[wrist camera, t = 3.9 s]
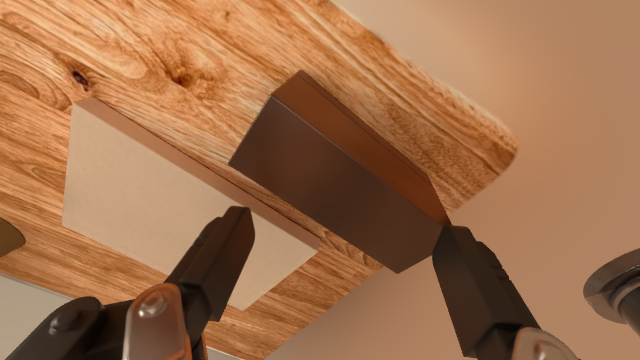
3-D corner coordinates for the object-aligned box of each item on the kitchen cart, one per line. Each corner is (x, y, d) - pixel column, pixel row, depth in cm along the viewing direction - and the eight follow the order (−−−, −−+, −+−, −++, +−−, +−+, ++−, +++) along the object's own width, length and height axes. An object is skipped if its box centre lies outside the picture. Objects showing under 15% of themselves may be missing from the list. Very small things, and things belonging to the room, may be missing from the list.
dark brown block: (427, 175, 16) (460, 240, 11) (385, 207, 18) (397, 274, 13) (301, 68, 14) (270, 93, 9) (267, 120, 16) (226, 164, 11)
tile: (320, 238, 21) (318, 252, 20) (247, 299, 29) (242, 311, 27) (93, 96, 16) (71, 101, 15) (76, 214, 24) (61, 225, 22)
